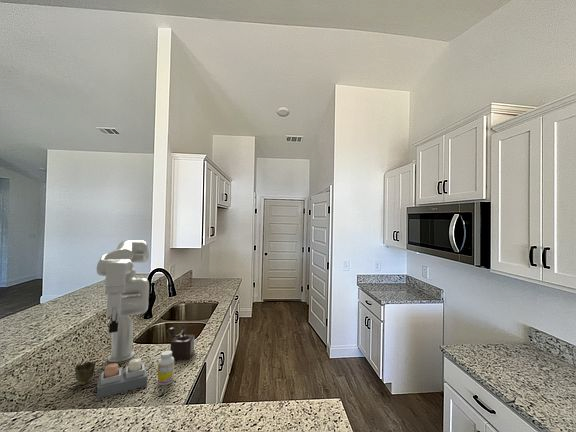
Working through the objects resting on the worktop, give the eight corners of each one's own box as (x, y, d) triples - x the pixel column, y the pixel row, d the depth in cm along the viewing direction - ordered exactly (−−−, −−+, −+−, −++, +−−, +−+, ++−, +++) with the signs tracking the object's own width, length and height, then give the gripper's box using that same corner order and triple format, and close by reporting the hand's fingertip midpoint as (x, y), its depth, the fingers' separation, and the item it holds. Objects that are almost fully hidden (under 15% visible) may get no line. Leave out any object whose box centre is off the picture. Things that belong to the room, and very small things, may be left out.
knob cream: (128, 371, 122) (129, 360, 122) (140, 368, 124) (141, 357, 125) (128, 376, 118) (129, 364, 118) (141, 373, 120) (141, 361, 121)
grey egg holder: (99, 384, 119) (99, 370, 119) (144, 373, 128) (145, 360, 129) (96, 398, 109) (97, 383, 109) (146, 385, 118) (147, 371, 118)
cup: (92, 377, 124) (92, 359, 125) (97, 383, 120) (98, 364, 120) (71, 384, 119) (72, 365, 119) (76, 390, 114) (77, 371, 114)
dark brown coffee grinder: (174, 351, 151) (175, 319, 152) (194, 351, 152) (195, 318, 154) (164, 365, 136) (166, 329, 137) (187, 364, 137) (188, 328, 138)
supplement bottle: (162, 377, 125) (163, 349, 125) (176, 377, 124) (177, 349, 125) (154, 385, 118) (155, 355, 119) (169, 386, 118) (170, 356, 118)
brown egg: (104, 376, 117) (105, 365, 117) (117, 373, 120) (118, 362, 120) (104, 382, 113) (104, 369, 113) (117, 378, 115) (118, 366, 116)
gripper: (105, 287, 123) (103, 327, 122) (104, 293, 110) (101, 339, 109) (125, 285, 127) (123, 325, 126) (125, 291, 114) (123, 335, 113)
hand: (113, 331), depth 118 cm, fingers closed
